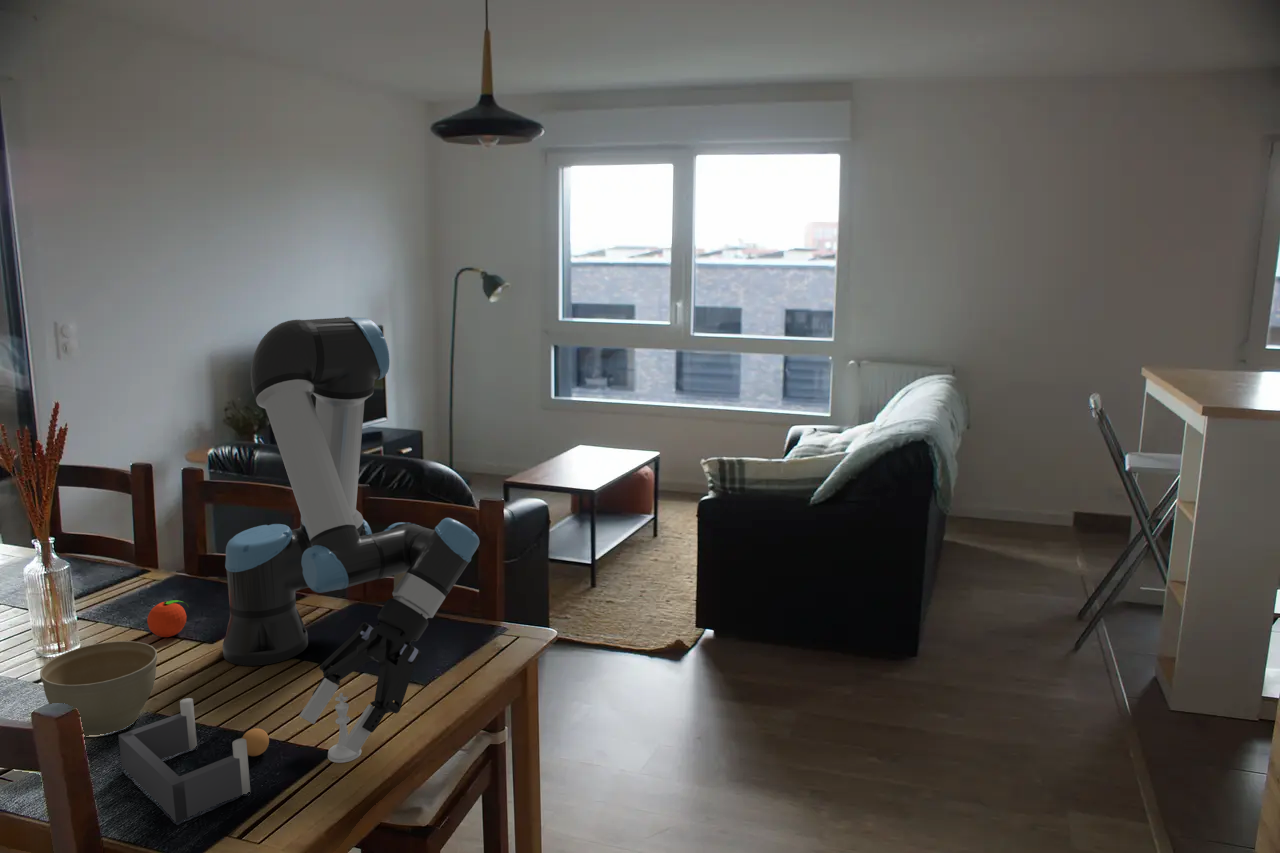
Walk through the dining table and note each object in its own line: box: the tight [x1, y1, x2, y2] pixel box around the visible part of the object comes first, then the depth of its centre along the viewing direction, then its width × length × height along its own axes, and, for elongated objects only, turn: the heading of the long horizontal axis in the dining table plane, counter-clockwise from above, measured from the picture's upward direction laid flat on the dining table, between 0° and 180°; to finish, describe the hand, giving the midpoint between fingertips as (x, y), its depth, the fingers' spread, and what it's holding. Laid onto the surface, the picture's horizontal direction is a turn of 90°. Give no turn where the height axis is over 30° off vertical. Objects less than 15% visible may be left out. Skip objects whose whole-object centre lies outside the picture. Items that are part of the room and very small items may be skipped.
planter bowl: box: [39, 640, 158, 738], centre depth 148 cm, size 16×16×11 cm
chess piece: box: [327, 692, 363, 764], centre depth 140 cm, size 5×5×10 cm
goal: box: [118, 697, 251, 822], centre depth 133 cm, size 10×19×8 cm, turn 48°
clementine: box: [146, 599, 189, 638], centre depth 183 cm, size 8×7×7 cm
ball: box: [241, 727, 270, 757], centre depth 140 cm, size 4×4×4 cm
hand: (327, 734), depth 138 cm, fingers open, 12 cm apart
